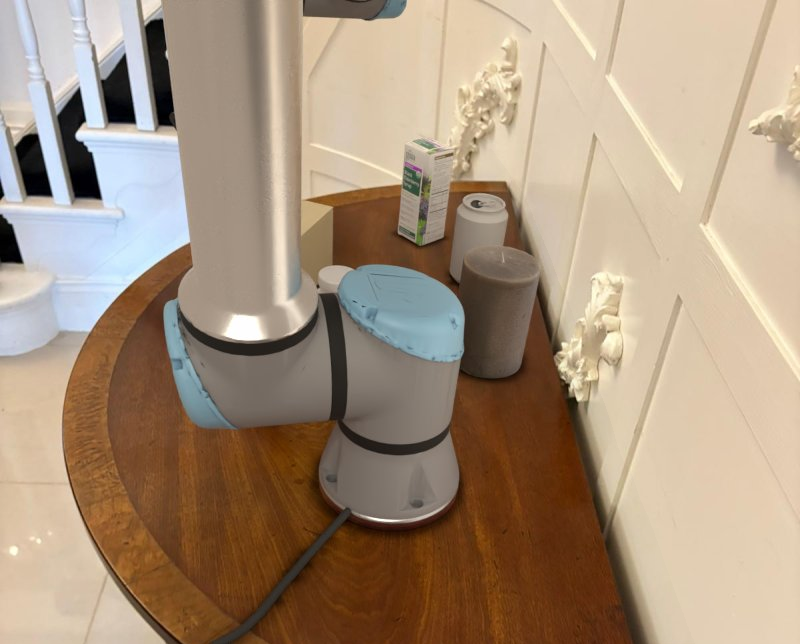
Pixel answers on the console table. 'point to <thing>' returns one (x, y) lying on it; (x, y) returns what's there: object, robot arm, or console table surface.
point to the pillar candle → (496, 308)
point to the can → (477, 227)
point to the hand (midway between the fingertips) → (232, 254)
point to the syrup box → (425, 190)
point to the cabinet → (316, 237)
